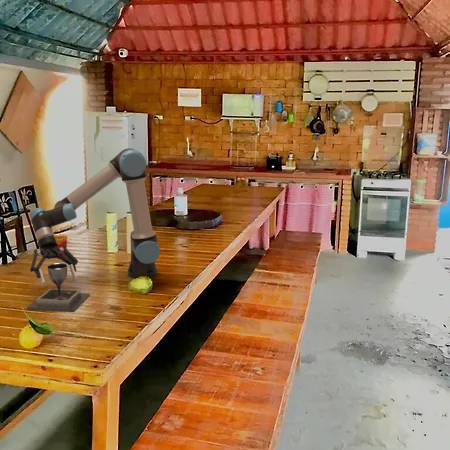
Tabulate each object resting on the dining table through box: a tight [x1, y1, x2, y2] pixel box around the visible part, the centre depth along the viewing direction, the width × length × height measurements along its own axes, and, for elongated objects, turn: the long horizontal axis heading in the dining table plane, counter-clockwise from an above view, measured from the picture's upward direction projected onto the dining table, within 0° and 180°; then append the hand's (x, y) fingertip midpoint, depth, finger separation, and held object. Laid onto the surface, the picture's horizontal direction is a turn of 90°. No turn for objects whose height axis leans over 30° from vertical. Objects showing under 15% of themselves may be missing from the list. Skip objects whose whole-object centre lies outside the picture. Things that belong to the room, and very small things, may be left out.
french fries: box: [54, 233, 68, 257], centre depth 290 cm, size 9×4×13 cm, turn 99°
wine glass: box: [47, 262, 68, 300], centre depth 221 cm, size 8×8×15 cm
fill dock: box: [26, 288, 91, 313], centre depth 221 cm, size 20×20×4 cm
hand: (59, 281), depth 219 cm, fingers open, 13 cm apart
